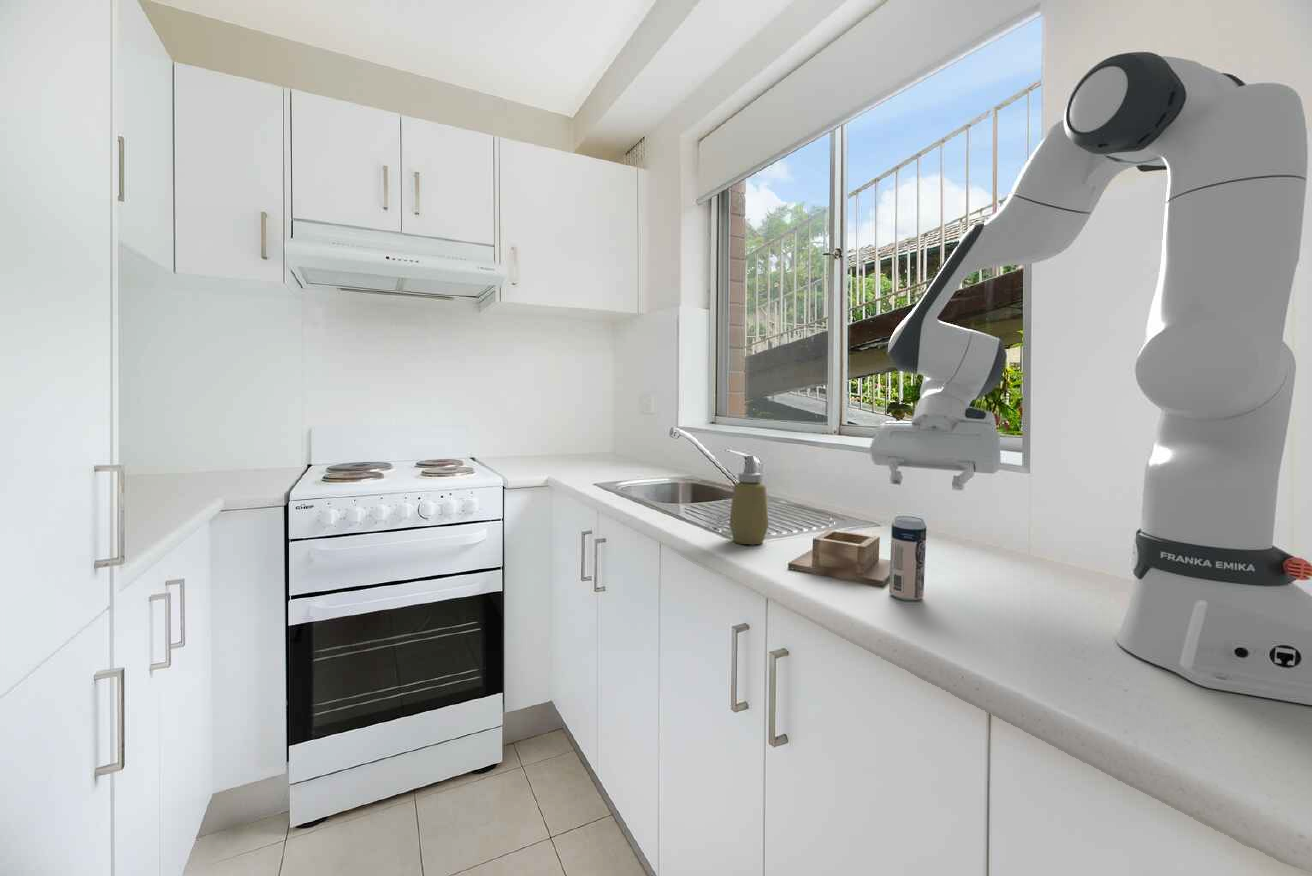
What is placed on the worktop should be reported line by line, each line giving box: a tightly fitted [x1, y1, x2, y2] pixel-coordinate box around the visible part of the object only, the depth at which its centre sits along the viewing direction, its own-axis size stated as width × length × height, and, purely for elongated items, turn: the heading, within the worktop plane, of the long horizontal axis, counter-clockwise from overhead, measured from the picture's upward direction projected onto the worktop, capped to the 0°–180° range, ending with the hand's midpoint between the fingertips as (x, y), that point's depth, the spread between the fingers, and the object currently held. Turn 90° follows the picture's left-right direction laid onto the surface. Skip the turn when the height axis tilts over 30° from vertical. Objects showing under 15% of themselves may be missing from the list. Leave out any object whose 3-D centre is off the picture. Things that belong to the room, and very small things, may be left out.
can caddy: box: [787, 529, 890, 588], centre depth 101 cm, size 16×13×6 cm
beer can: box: [888, 515, 927, 602], centre depth 87 cm, size 5×5×12 cm
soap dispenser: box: [729, 455, 769, 546], centre depth 118 cm, size 8×8×18 cm
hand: (925, 485), depth 94 cm, fingers open, 8 cm apart
